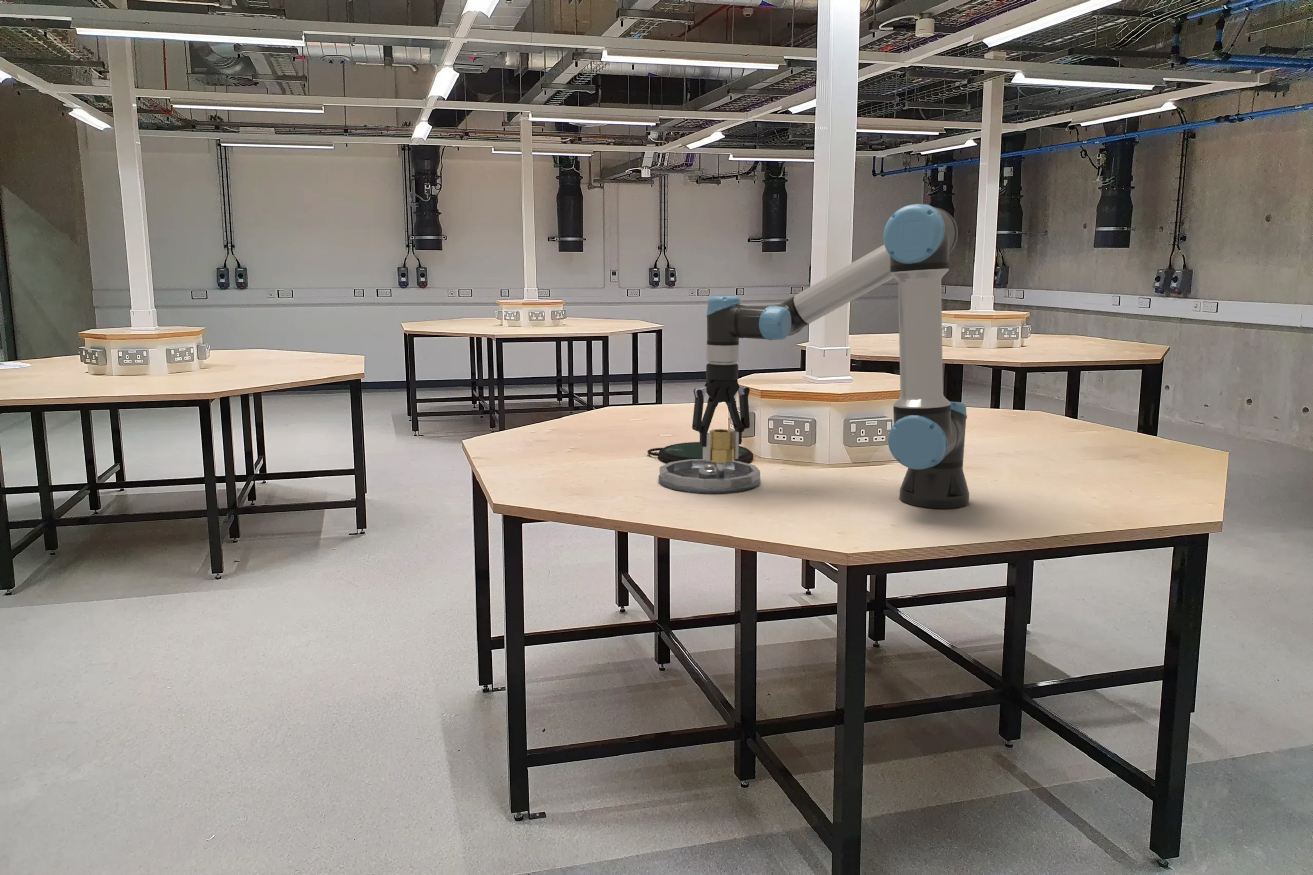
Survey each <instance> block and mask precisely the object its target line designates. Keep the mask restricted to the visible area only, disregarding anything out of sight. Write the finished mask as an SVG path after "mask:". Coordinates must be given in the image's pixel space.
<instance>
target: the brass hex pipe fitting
mask: <svg viewBox="0 0 1313 875" xmlns="http://www.w3.org/2000/svg"><path fill="white" fill-rule="evenodd" d="M709 433H710V434H711V445H710V462H716V463H728V462H732V461H734V451H735V448H734V447H732V431H731V429H726V428H725V429H724V428H715V429H714V428H713V429H710V430H709Z"/></svg>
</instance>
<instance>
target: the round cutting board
mask: <svg viewBox="0 0 1313 875" xmlns="http://www.w3.org/2000/svg"><path fill="white" fill-rule="evenodd" d="M657 451H658V452H657ZM647 454H648V455H650V456H656V457H658V459H659V460H660V461H661V462H664V463H666V464H667V463H669V462H675V461H682V460H689V459H703V447H702V446H700V441H690V442H681V443H675V444H670V445H666V446H664V447H654V448H653V447H652V448H650V449H648V450H647ZM753 460H754V452H752V451H751V450H750V449H748V448H746V447H744V446H741V445H739V450H738V459H734V461H740V462H743V463H747V464H749V462H751V461H753Z"/></svg>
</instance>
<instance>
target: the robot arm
mask: <svg viewBox="0 0 1313 875" xmlns="http://www.w3.org/2000/svg"><path fill="white" fill-rule="evenodd" d="M958 235H959V231H958V224H957V222H956V220H955V219H954V217H953V216H952V215H951V214H950V213H949V212H948V211H946V210H944V209H943V208H940V207H935V206H932V205H929V204H927V203H915V204H914V203H913V204H908V205H905V206H903V207H900V208H899V209H897V210H896V211H895V212H894V213H893V214H892V215H891V216H890V217H889V218H888V220H887V222H886V224H885V225H884V230H883V234H882V236H883V245H880V246H879V247H877V248H875V249H874V250H872V251H870V252H868V253H867V254H865V255H863V256H861V257H860V258H858V259H857V260H855V261H853V262H851V263H849V264H847V265H846V266H844V267H843V268H841V269H839V270H837V271H835V272H834V273H832V274H830V275H828V276H827V277H825V278H823V279H821V280H820V281H818V282H816V283H815V284H812V285H811V286H809V287H808V288H806V289H804V290H803V291H801V292H799V293H797V294H795V295H794V296H792V297H790V298H788V299H787V300H784V301H783V302H781V303H778V304H768V305H743V304H741V300H740V299H741V298H739V296H734V295H733V296H732V295H731V296H729V295H713V296H711V297H709V299H708V301H707V310H706V362H708V363H707V364H706V365H705V368H706V369H705V370H706V371H705V380H706V382H705V385H704V386H703V387H700V388H696V387H695V388H694V389H693V395H694V404H693V405H694V407H693V414H692V416H693V417H692V425H691V428H692V430H693V431H695V432H698V433H699V442H700V446H702V447H703V459H704V460H706V461H710V445H711V434H710V432H709V428H710V426H711V423H712V420H713V417H714V414H715V413H716V412H715V410H716V408H717V406H718V405H719V404H721V403H725V404H726V405H727V406H726V407H727V409H728V413H729V416H730V419H731V422H732V426H733V429H734V430H733V429H732V430H731V429H730V430H731V431H732V447H734V448H735V451H734V459H738V450H739V446H740V445H742V442H743V432H745V430H746V429H749V428H750V427H751V424H750V422H751V421H750V408H749V406H750V405H749V395H750V391H751V389H750V387H747V386H741V385H740V384H739V382H738V381H739V364H738V363H737V362H739V358H740V356H739V355H740V350H739V349H740V339H755V340H756V339H757V340H767V341H777V340H778V341H779V340H781V341H782V340H785V339H786V338H787V337H789V336H794V335H795V334H798V333H799V332H801V331H802V330H803V329H804V328H805V327H807V326H809V325H810V324H812V323H813V322H814V321H815V322H816V321H817V320H819V319H821V318H822V317H824V316H826V315H828V314H830V313H832V312H834V311H835V310H837V309H839V308H841V307H843V306H844V305H846V304H848V303H850V302H852V301H853V300H856V299H857V298H859V297H861V296H863V295H865V294H867V293H868V292H870V291H872V290H874V289H876V288H878V287H880V286H881V285H883V284H885V283H887V282H888V281H890V280H892V279H895V280H896V281H897V290H898V292H897V296H898V299H897V300H898V336H899V338H898V339H899V340H898V341H899V342H898V345H899V348H898V349H899V381H900V382H899V383H900V384H899V386H900V387H899V388H900V393H899V395H900V396H899V397H898V399H896V401H894V402H893V405H892V406H893V410H892V412H893V424H892V426H891V427H890V429H889V433H888V438H887V443H888V444H887V445H888V449H889V452H890V453H891V455H892V457H893V458H894V459H895V460H896V461H897V463H899V464H900V465H902V467H903V466H904V467H905V468H907V470H906V473H905V476H904V478H903V480H902V482H901V485H900V488H899V498H898V499H899V500H900V501H901V502H903V503H905V504H908V505H912V506H916V507H922V508H927V509H928V508H930V509H943V510H944V509H946V510H947V509H959V508H963V507H966V506H968V505H969V503H970V491H969V488H968V484H967V479H966V478H965V474H964V456H965V455H964V454H965V440H966V439H965V438H966V426H967V419H968V415H967V406H966V404H965V403H963V402H960V401H950V400H949V399H947V398H946V397H945V395H944V387H943V386H944V385H943V384H944V383H943V382H944V380H943V379H944V378H943V377H944V374H943V373H944V372H943V318H942V317H943V314H942V312H943V311H942V306H943V305H942V279H943V277H944V276H945V275H946V274H947V273H948V272H949V271H950V265H949V263H950V262H949V261H950V258H949V257H950V253H952V252H953V250H954V248H955V246H956V244H957V242H958V237H959V236H958ZM737 393H738V399H739V400H738V402H739V404H738V405H739V411H738V408H737V402H736V399H735V395H736V394H737ZM706 394H707V395H708V399H707V402H706V407H705V411H704V404H705V402H704V400H705V399H704V398H705V396H706ZM703 411H704V414H703Z"/></svg>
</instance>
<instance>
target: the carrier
mask: <svg viewBox="0 0 1313 875" xmlns="http://www.w3.org/2000/svg"><path fill="white" fill-rule="evenodd" d="M658 484H659V485H660V486H662V487H663V488H666V489H669V490H672V491H676V492H680V493H681V492H682V493H689V494H699V495H701V494H702V495H722V494H723V495H726V494H736V493H744V492H747V491H752V490H755V489H757V488H758V487H759V486H760V485H761V470H760V469H759V468H758V467H757V466H756V465H755V464H750V463H743V462H740V461H732V462H728V463H716V462H710V461H706V460H704V459H689V460H682V461H675V462H669V463H666V464H663V465H661V466H659V475H658Z"/></svg>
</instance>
